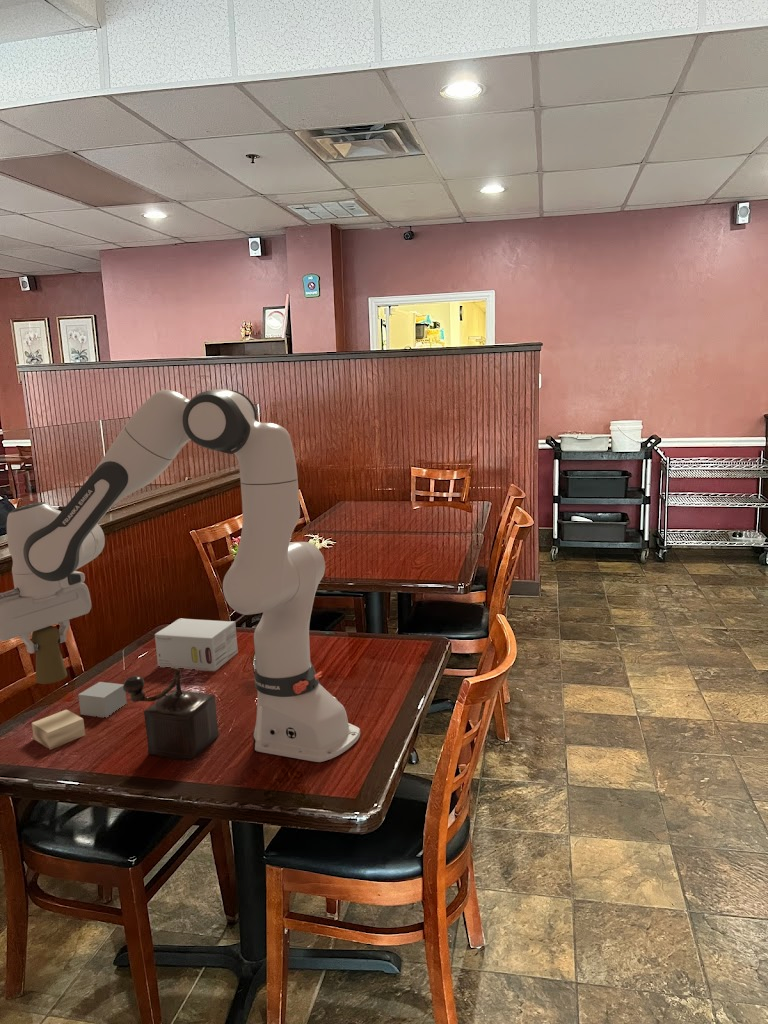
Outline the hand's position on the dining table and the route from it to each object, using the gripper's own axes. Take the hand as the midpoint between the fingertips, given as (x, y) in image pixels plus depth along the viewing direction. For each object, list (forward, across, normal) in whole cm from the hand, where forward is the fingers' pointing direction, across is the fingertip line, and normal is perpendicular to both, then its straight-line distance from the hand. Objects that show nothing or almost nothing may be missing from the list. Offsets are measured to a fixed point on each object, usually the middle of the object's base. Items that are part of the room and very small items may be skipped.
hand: (47, 646), depth 148 cm
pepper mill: (+20, +8, -27) cm, 35 cm away
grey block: (+20, +13, +3) cm, 24 cm away
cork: (+7, 0, 0) cm, 7 cm away
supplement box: (+21, +44, +6) cm, 49 cm away
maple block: (+20, 0, 0) cm, 20 cm away
